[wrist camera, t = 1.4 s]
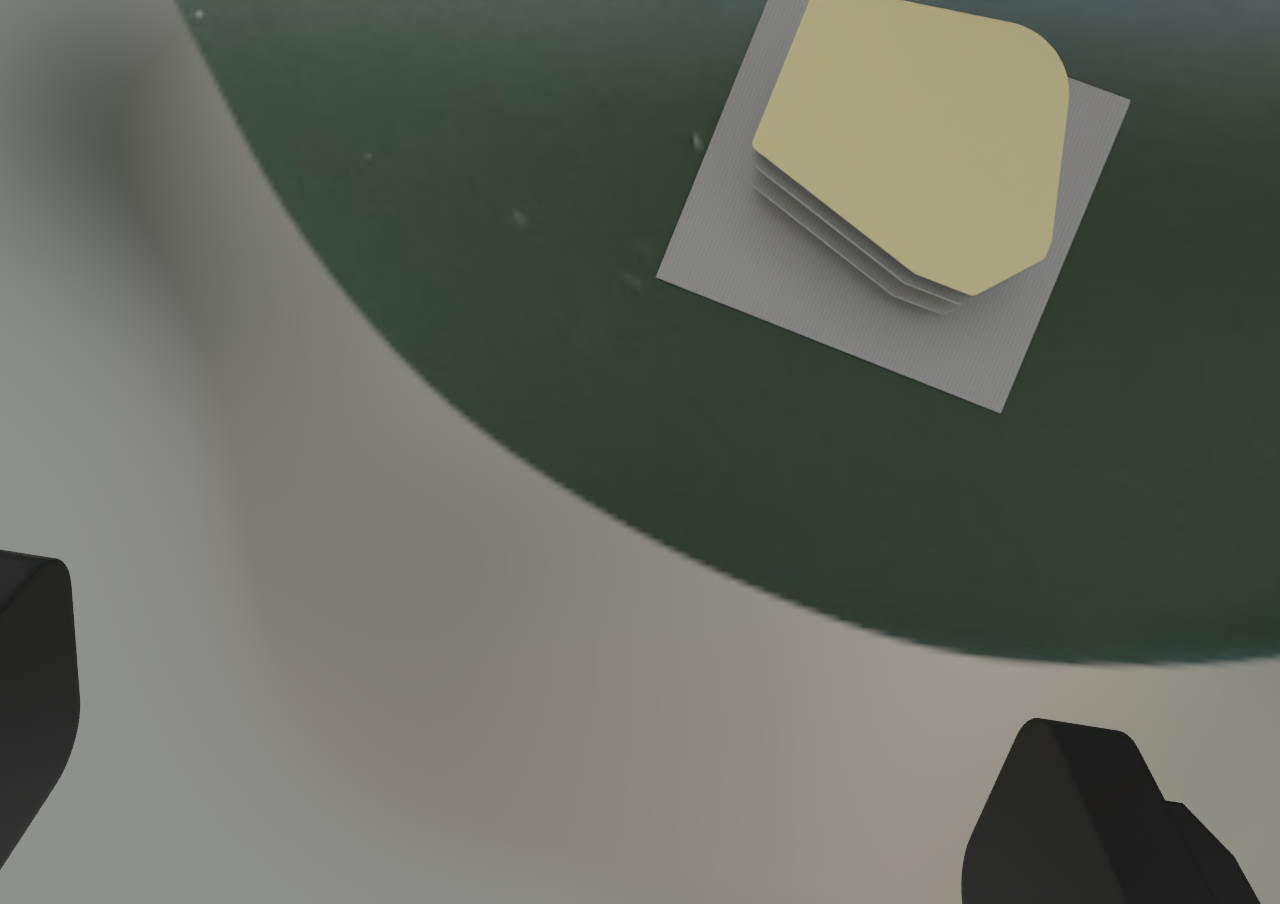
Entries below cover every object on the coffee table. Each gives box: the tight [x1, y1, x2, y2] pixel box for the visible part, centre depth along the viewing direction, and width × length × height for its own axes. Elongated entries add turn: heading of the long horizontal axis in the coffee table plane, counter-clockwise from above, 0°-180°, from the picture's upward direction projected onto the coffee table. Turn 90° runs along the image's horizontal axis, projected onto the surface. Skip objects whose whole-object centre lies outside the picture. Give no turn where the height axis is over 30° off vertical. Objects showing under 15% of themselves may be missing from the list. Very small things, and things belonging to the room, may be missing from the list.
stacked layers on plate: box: [656, 0, 1131, 413], centre depth 27 cm, size 10×9×6 cm
